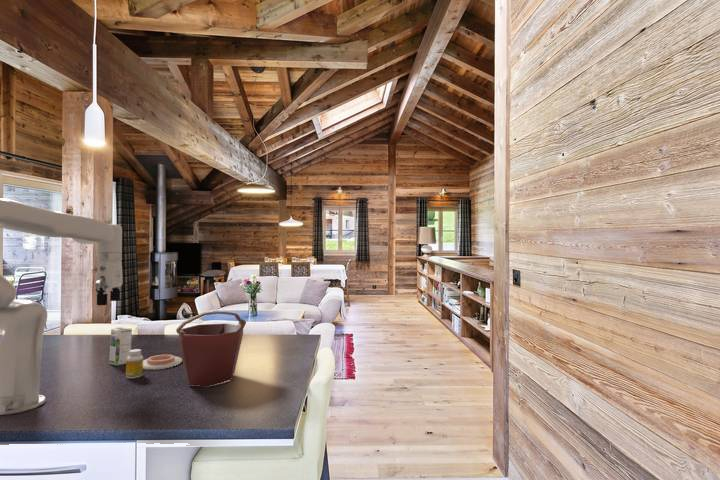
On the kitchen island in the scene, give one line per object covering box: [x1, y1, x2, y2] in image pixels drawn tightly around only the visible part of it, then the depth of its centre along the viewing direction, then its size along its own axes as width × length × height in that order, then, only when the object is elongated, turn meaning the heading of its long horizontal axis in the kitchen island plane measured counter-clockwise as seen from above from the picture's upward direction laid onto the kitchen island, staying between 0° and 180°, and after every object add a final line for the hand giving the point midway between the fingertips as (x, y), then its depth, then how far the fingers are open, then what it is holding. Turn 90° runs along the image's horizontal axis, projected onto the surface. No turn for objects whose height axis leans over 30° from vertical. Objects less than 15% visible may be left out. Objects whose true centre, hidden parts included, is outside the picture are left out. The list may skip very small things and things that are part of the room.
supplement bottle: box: [125, 348, 144, 379], centre depth 137 cm, size 5×5×10 cm
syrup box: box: [108, 326, 133, 367], centre depth 153 cm, size 6×6×14 cm
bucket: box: [175, 310, 247, 386], centre depth 136 cm, size 24×22×25 cm
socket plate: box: [143, 354, 183, 371], centre depth 153 cm, size 16×16×2 cm
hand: (108, 302), depth 137 cm, fingers open, 9 cm apart
